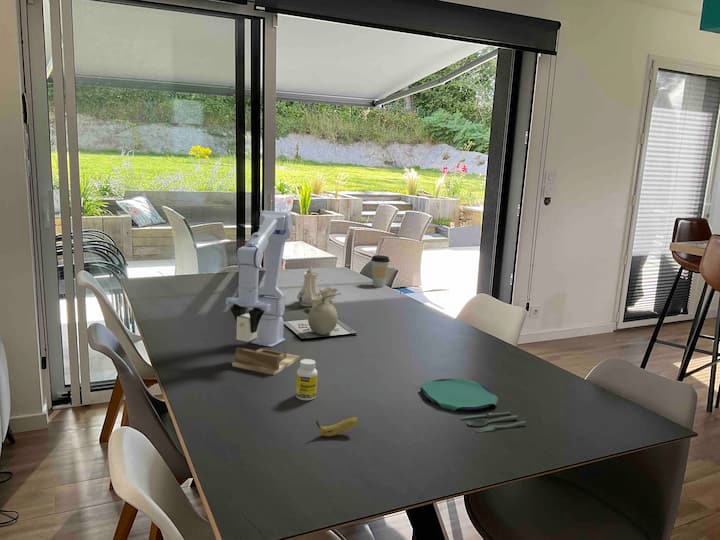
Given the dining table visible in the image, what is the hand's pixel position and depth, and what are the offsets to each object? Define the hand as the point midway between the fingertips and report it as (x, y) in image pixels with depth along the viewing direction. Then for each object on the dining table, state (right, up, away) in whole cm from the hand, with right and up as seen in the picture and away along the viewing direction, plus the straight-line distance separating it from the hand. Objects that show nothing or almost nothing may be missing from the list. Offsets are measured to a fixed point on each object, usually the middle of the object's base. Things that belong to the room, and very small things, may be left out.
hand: (247, 330), depth 177 cm
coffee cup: (+44, +10, +122) cm, 129 cm away
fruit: (+20, -5, +34) cm, 40 cm away
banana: (+29, -20, -43) cm, 55 cm away
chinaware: (+15, +3, +75) cm, 77 cm away
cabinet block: (0, -2, 0) cm, 2 cm away
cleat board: (+6, -10, +1) cm, 11 cm away
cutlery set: (+63, -18, -21) cm, 69 cm away
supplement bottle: (+20, -15, -22) cm, 34 cm away
